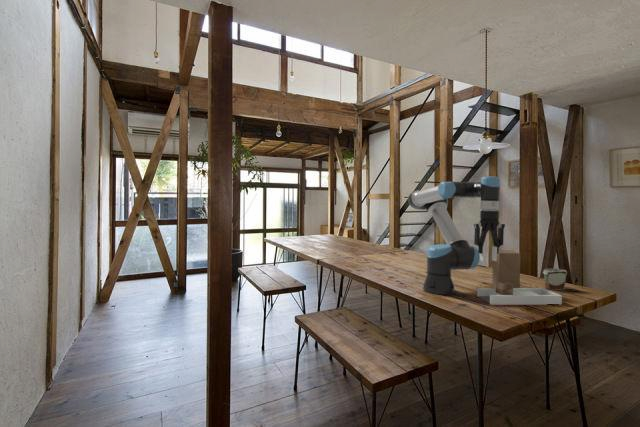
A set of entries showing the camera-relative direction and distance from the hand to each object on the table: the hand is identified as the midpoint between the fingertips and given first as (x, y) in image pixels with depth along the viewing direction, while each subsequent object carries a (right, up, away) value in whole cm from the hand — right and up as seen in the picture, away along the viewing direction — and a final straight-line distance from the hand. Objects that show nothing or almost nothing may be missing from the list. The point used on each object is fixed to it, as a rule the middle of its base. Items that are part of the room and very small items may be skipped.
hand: (488, 260), depth 147 cm
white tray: (+14, -19, +1) cm, 24 cm away
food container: (+45, -18, +22) cm, 53 cm away
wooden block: (+19, -18, +19) cm, 33 cm away
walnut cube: (+8, -16, +1) cm, 18 cm away
